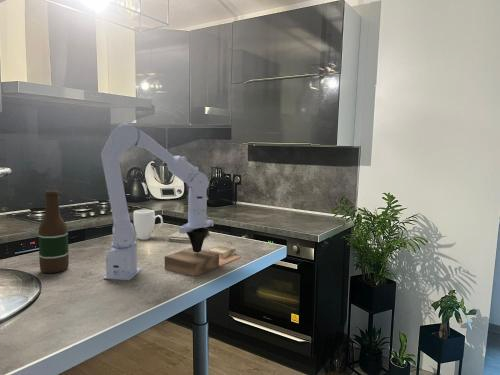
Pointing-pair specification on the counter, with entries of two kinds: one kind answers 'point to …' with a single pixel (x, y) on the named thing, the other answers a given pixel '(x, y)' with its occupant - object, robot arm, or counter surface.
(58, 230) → the beer bottle
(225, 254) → the tile
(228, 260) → the mat
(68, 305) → the counter surface
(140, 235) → the mug
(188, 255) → the brown flat block
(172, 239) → the washcloth
